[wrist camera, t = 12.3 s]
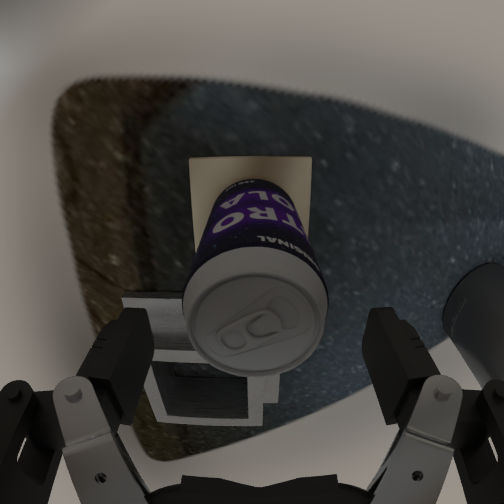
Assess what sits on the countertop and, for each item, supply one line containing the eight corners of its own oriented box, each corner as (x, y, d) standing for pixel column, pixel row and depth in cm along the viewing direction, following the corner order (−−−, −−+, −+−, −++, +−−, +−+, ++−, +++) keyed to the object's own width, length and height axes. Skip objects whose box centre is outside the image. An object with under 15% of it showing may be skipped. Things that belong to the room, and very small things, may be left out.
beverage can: (309, 229, 22) (357, 347, 11) (241, 267, 24) (233, 399, 13) (268, 159, 20) (288, 226, 9) (196, 204, 21) (143, 308, 11)
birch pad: (310, 156, 21) (311, 158, 20) (304, 263, 24) (305, 266, 24) (190, 157, 21) (188, 159, 20) (198, 264, 24) (197, 268, 24)
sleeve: (283, 291, 25) (290, 332, 21) (277, 395, 31) (280, 434, 26) (125, 291, 25) (104, 328, 21) (154, 392, 31) (144, 429, 26)
